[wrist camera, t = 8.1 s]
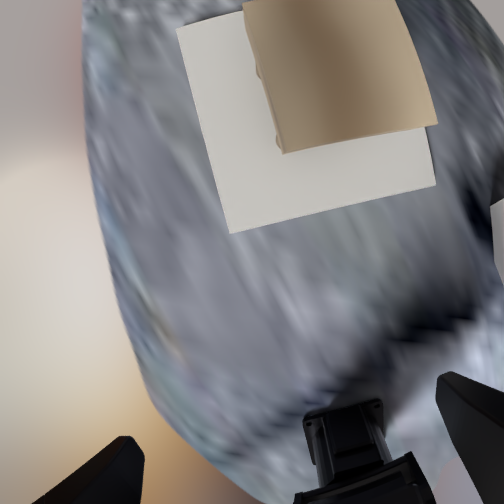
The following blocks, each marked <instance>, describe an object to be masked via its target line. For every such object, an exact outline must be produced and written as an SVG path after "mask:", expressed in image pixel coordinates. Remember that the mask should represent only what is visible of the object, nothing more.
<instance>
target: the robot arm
mask: <svg viewBox="0 0 504 504" xmlns="http://www.w3.org/2000/svg"><path fill="white" fill-rule="evenodd" d="M436 403H437V406H438V408H439V411H440V413H441V415H442V418H443V420H444V423H445V425H446V428H447V430H448V433H449V435H450V438H451V440H452V443H453V445H454V447H455V449H456V451H457V453H458V454H459V456H460V458H461V460H462V462H463V464H464V466H465V468H466V469H467V471H468V473H469V475H470V477H471V479H472V481H473V483H474V485H475V487H476V489H477V491H478V493H479V495H480V497H481V499H482V501H483V503H484V504H504V392H502V391H499V390H496V389H494V388H491V387H489V386H486V385H484V384H482V383H479V382H477V381H474V380H472V379H469V378H467V377H464V376H462V375H459V374H457V373H455V372H452V371H449V372H447V373H444V374H442V375H440V376H439V377H438V378H437V387H436ZM376 404H377V405H376ZM308 422H310V423H308ZM302 423H303V428H304V432H305V436H306V440H307V444H308V448H309V452H310V456H311V460H312V463H313V465H316V468H317V474H318V481H319V487H320V488H318V489H314V490H311V491H307V492H304V493H303V492H300V493H296V494H295V498H294V502H293V504H436V501H435V498H434V495H433V493H432V490H431V488H430V486H429V484H428V482H427V480H426V478H425V476H424V474H423V472H422V470H421V468H420V466H419V465H418V463H417V461H416V459H415V457H414V455H413V453H412V451H410V452H408V453H406V454H404V456H402V457H400V458H398V459H396V460H393V459H392V457H391V454H390V452H389V449H388V447H387V444H386V442H385V439H384V437H383V403H382V401H381V399H378V398H377V399H373V400H370V401H367V402H363V403H360V404H356V405H353V406H349V407H346V408H342V409H338V410H334V411H330V412H326V413H322V414H318V415H313V416H309V417H306V418H304V419H303V421H302ZM144 462H145V456H144V453H143V451H142V450H141V449H140V447H139V446H138V444H137V443H136V441H135V440H134V438H133V437H131V436H119V437H117V438H116V439H115V440H113V441H112V442H111V443H110V444H109V445H107V446H106V447H105V448H104V449H102V450H101V451H100V452H99V453H97V454H96V455H95V456H94V457H93V458H91V459H90V460H89V461H87V462H86V463H85V464H84V465H82V466H81V467H80V468H79V469H77V470H76V471H75V472H74V473H72V474H71V475H69V476H68V477H67V478H66V479H64V480H63V481H62V482H60V483H59V484H58V485H56V486H55V487H54V488H52V489H51V490H50V491H49V492H47V493H46V494H45V495H43V496H42V497H40V498H39V499H37V500H36V501H35V502H33V503H32V504H140V502H141V495H142V484H143V473H144V472H143V471H144Z"/></svg>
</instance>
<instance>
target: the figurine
mask: <svg viewBox="0 0 504 504" xmlns="http://www.w3.org/2000/svg"><path fill="white" fill-rule="evenodd" d="M490 211H491V221H492V232H493V247H494V263H495V265H496V268H497V270H498V273H499V275H500V278H501V281H502V283H503V286H504V198H503V199H502V200H500V201H498V202H497V203H495V204H493V205H491V206H490Z"/></svg>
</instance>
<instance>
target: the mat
mask: <svg viewBox="0 0 504 504" xmlns="http://www.w3.org/2000/svg"><path fill="white" fill-rule="evenodd" d="M176 32H177V36H178V40H179V44H180V48H181V51H182V55H183V59H184V63H185V67H186V71H187V75H188V79H189V83H190V87H191V91H192V95H193V98H194V102H195V106H196V110H197V114H198V118H199V121H200V125H201V129H202V133H203V137H204V140H205V144H206V148H207V152H208V155H209V159H210V163H211V167H212V170H213V174H214V178H215V181H216V185H217V189H218V192H219V196H220V200H221V203H222V207H223V211H224V214H225V218H226V221H227V225H228V229H229V232H230V234H232V233H236V232H240V231H244V230H248V229H252V228H256V227H260V226H264V225H268V224H272V223H276V222H280V221H284V220H288V219H292V218H297V217H301V216H305V215H309V214H313V213H317V212H321V211H326V210H330V209H334V208H338V207H343V206H347V205H351V204H355V203H360V202H364V201H368V200H373V199H377V198H382V197H386V196H390V195H395V194H399V193H404V192H408V191H413V190H417V189H422V188H426V187H431V186H436V182H435V176H434V170H433V165H432V159H431V154H430V149H429V145H428V140H427V136H426V131H425V127H421V128H417V129H412V130H406V131H399V132H393V133H387V134H381V135H375V136H370V137H364V138H359V139H354V140H348V141H343V142H338V143H333V144H328V145H324V146H319V147H314V148H310V149H305V150H301V151H296V152H292V153H288V154H284V155H282V152H281V149H280V148H279V147H278V146H277V144H276V135H277V133H276V130H275V126H274V123H273V119H272V115H271V112H270V108H269V105H268V102H267V98H266V95H265V91H264V88H263V85H262V81H261V79H260V78H259V77H258V76H257V74H256V63H255V58H254V55H253V52H252V49H251V46H250V42H249V39H248V36H247V33H246V30H245V23H244V15H243V10H242V11H238V12H234V13H229V14H225V15H221V16H217V17H214V18H210V19H206V20H203V21H199V22H196V23H193V24H190V25H186V26H183V27H180V28H177V29H176Z"/></svg>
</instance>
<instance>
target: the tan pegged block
mask: <svg viewBox="0 0 504 504" xmlns="http://www.w3.org/2000/svg"><path fill="white" fill-rule="evenodd" d="M242 6H243V15H244V23H245V30H246V33H247V36H248V39H249V42H250V46H251V49H252V52H253V55H254V58H255V63H256V74H257V76H258V77H259V78H260V79H261V81H262V85H263V88H264V91H265V95H266V98H267V102H268V105H269V108H270V112H271V115H272V119H273V123H274V126H275V130H276V133H277V135H276V144H277V146H278V147H279V148H280V149H281V152H282V155H284V154H288V153H292V152H296V151H301V150H305V149H310V148H314V147H319V146H324V145H328V144H333V143H338V142H343V141H348V140H354V139H359V138H364V137H370V136H375V135H381V134H387V133H393V132H399V131H406V130H412V129H417V128H421V127H426V126H431V125H436V124H438V121H437V117H436V113H435V110H434V106H433V102H432V99H431V95H430V92H429V89H428V85H427V82H426V79H425V76H424V73H423V70H422V67H421V64H420V61H419V58H418V55H417V52H416V50H415V47H414V44H413V42H412V39H411V37H410V34H409V32H408V29H407V27H406V24H405V22H404V20H403V17H402V15H401V13H400V11H399V8H398V6H397V4H396V2H395V0H254V1H250V2H245V3H242Z"/></svg>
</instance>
